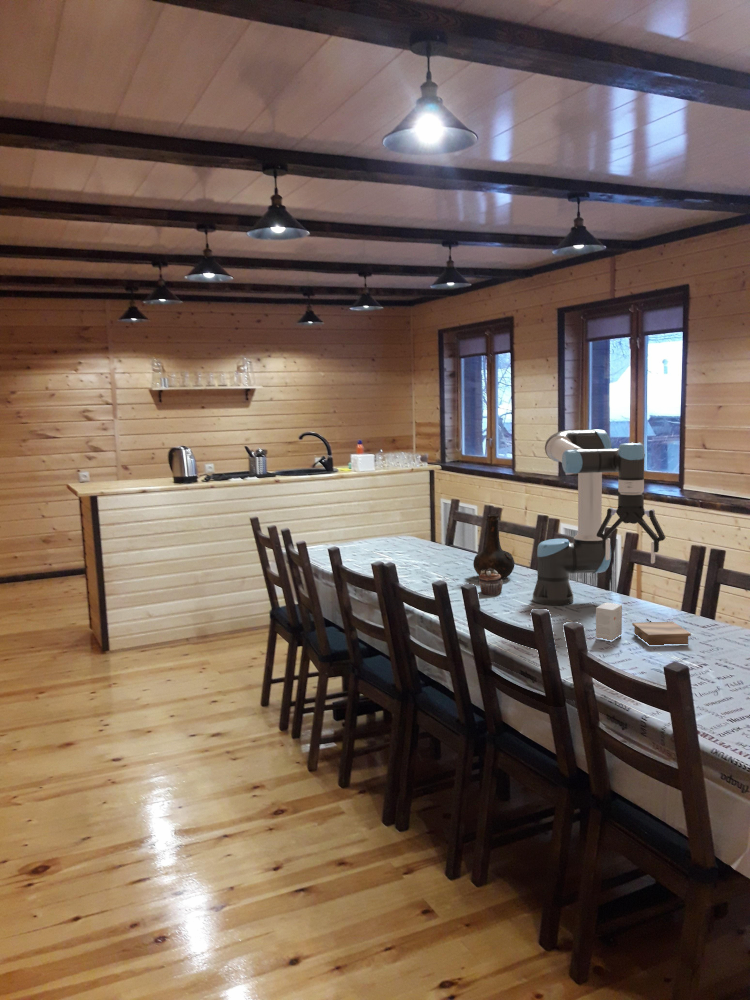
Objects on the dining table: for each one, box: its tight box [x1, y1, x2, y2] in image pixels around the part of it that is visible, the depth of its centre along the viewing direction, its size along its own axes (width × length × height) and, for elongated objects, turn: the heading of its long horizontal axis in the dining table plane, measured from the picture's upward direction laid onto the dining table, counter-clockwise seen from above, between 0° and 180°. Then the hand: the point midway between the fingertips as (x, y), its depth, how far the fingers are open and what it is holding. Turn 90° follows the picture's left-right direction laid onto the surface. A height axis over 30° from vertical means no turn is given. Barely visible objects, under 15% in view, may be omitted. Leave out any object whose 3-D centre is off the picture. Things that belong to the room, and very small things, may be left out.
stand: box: [631, 621, 692, 645], centre depth 230 cm, size 13×13×4 cm
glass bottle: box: [472, 513, 516, 580], centre depth 320 cm, size 18×18×28 cm
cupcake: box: [478, 568, 504, 596], centre depth 295 cm, size 10×10×10 cm
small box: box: [595, 602, 623, 640], centre depth 233 cm, size 8×6×10 cm
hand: (630, 561), depth 230 cm, fingers open, 13 cm apart
